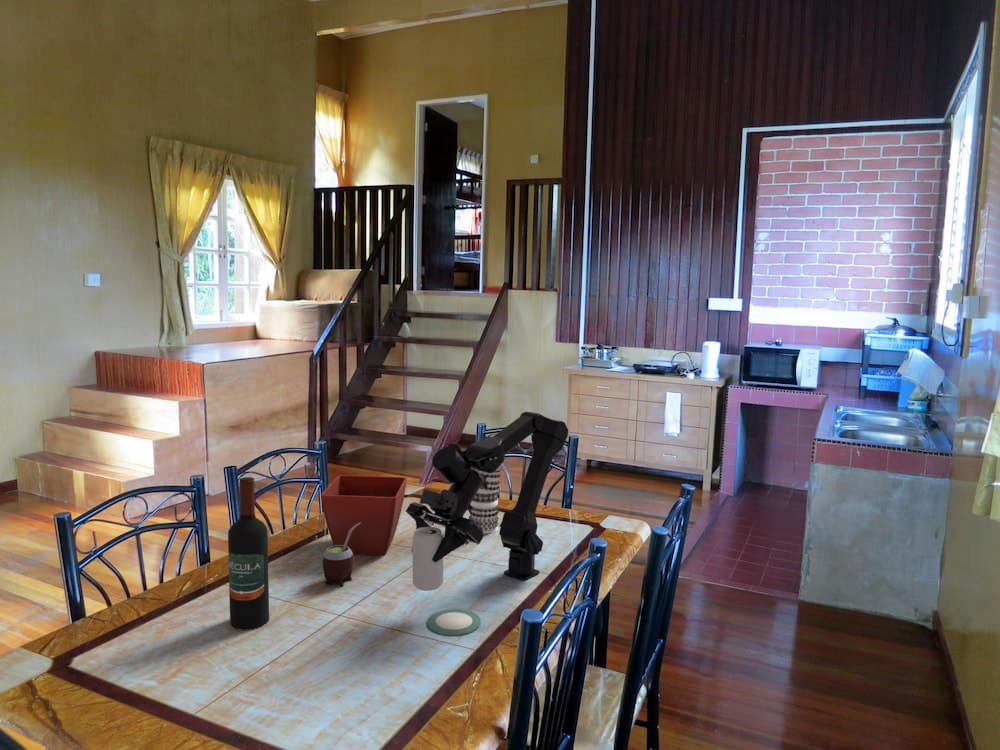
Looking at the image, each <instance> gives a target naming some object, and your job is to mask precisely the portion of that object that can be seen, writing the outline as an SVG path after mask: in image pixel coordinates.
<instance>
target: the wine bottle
mask: <svg viewBox="0 0 1000 750" xmlns="http://www.w3.org/2000/svg"><path fill="white" fill-rule="evenodd" d="M238 483H239V485H238V487H239V518H238V519H237V520H236V521H234V523H233V524H231V526H230V527H229V529H228V533H227V544H228V545H227V548H228V549H227V550H228V551H227V552H228V584H229V585H228V586H229V587H228V589H229V592H228V594H229V596H228V597H229V624H230V627H231V626H232V627H233V628H232V627H231V628H232V629H234V628H235V630H237V629H241V630H240V631H247V630H246V629H251V630H255V629H254V628H256V629H259V628H262V627H263V625H264V624H265V625H267V624H268V623H269V622H270V621H269V620H270V597H269V596H270V593H269V591H270V590H269V588H270V587H269V584H270V583H269V538H268V536H269V535H268V533H269V532H268V528H267V526H266V524H265V523H264V521H262V520H261V519H259V518H257V515H256V511H255V510H256V507H255V504H256V503H255V502H256V501H255V478H254V477H251V476H247V477H240V478H239V482H238ZM267 622H268V623H267ZM265 625H264V626H265ZM261 626H262V627H261ZM258 627H259V628H258Z"/></svg>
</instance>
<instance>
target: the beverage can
mask: <svg viewBox="0 0 1000 750" xmlns="http://www.w3.org/2000/svg"><path fill="white" fill-rule="evenodd" d="M443 538H444V535H443V534H442V529H440V528H438V527H434V526H431V527H422V528H418V529H416V528H415V530H414V532H413V535H412V548H413V553H412V585H413V586H414V587H415V588H416V589H417V590H419V591H426V592H429V591H435V590H438V589H439V588H440V587H441V586H442V585H443V584H444V557H443V558H442V559H440V560H439V561H438V562H436V563H435V562H434V561H433V560H432V559H433V556H434V554H435V553H436V551H437V549H438V547H439V545H440V543H441V541H442V539H443Z"/></svg>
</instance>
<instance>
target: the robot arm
mask: <svg viewBox="0 0 1000 750" xmlns="http://www.w3.org/2000/svg"><path fill="white" fill-rule="evenodd" d="M529 436H530V437H531V438H530V439H531V444H532V448H533V451H532V455H531V459H530V461H529V464H528V467H527V469H526V473H525V476H524V479H523V483H522V485H521V489H520V491H519V494H518V497H517V500H516V504H515V506H514V507H513V508H512V509H511V510H505V511H504V513H503V515H502V519H501V522H500V524H499V527H500V528H499V536H500V540H501V545H502V547H503V548H506V549H509V550H508V551H509V553H508V566H507V567H508V568H507V569H506V570H504V571H503V574H504V575H507V576H510V577H513V578H515V579H518V580H522V581H526V580H528V579H530V578H533V577H534V576H536V575H538V574H539V573H540V570H538V569H535V564H536V563H535V561H536V559H535V558H536V557H535V556H536V555H539V554H540V552H542V550H543V546H544V542H543V540H542V539H541V538H540V537H539V536H538V534H537V530H538V522H537V521H538V520H537V516H536V511H537V507H538V504H539V501H540V499H541V496H542V492H543V488H544V486H545V483H546V479H547V476H548V473H549V470H550V467H551V465H552V461H553V458H554V457H555V456H556V455H557V454H558V453H559V452H560V451H561V450H562V449H563V448H564V446H565V443H566V441H567V439H568V436H569V429H568V426H567V424H566V423H565V422H564V421H562V420H557V419H552V418H550V417H549V418H548V417H546V416H544V415H542V414H541V413H538V412H533V411H524V412H522V413H520V416H519V417H517V418H516V419H515V420H513V422H511V423H510V424H508V425H507V426H505V427H504V428H503V429H501V430H499V432H497V433H496V434H495V435H493V436H491V437H489V438H484V439H480V440H477V441H475V442H473V443H471V444H469V445H468V446H467V448H466V449H463V450H462V449H461V447H460V446H459V444H457V443H454V442H450V443H448V445H447V446H445V447H442V448H440V450H438V451H437V452H435V453H434V455H433V457H432V460H431V463H432V467H433V468H434V469H435V470H436V471H437V472H438V473H439V474H440V475H441V476H442V477H443V478H444V479H445V481H447V482H448V483H450V484H451V485H450V486H449V488H448V489H445V488H444V489H443V490H441V491H440V492H437V491H433V490H430V489H426V488H423V490H422V494H421V496H420V499H419V503H418V502H416V501H415V502H411V503H409V505H408V507H407V508H406V510H405V512H406V513H407V515H409V517H411V518H412V519H413V521H414V522H415V525H416V526H415V527H416V528H415V530H416V529H418V528H422V527H434V524H435V525H438V526H441V527H444V535H443V539H442V541H441V543H440V545H439V547H438V549H437V551H436V553H435V554H434V556H433V559H432V560H433V561H434V562H435V563H436V562H438V561H439V560H440V559H442V558H443V559H444V558H445V557H446V556H447V555H449V554H450V553H452V552H454V551H455V550H457V549H458V548H460V547H462V546H464V545H468V544H469V542H471V543H473V544H477V545H480V543H481V542H482V541H483V538H484V534H483V530H482V529H481V528H480V527H479V526H478V525H477V524H476V523H475V522H474V521H473V520H471V519H469V518H466V517H464V516H465V514H466V512H469V511H470V512H471V510H472V508H473V507H472V506H471V505H470V504H471V502H472V500H473V499H474V497H475V495H476V493H477V492H478V490H479V488H484V489H487V488H488V484H487V482H486V476H482V475H480V474H479V473H478V472H477V471H476V470H479V471H483V472H487V473H493V472H494V471H496V469H497V468H500V466H501V465H502V464H503V463H504V462H505V458H506V455H507V454H508V453H509V452H510V451H511V450H513V449H514V448H515V447H516V446H518V445H519V444H521V442H524V440H525V439H527V438H528V437H529ZM470 468H471V469H470ZM472 469H474V470H472ZM424 504H425V505H424ZM426 505H427V506H429V508H428V507H427V506H426ZM411 554H413V547H412V548H411Z"/></svg>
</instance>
